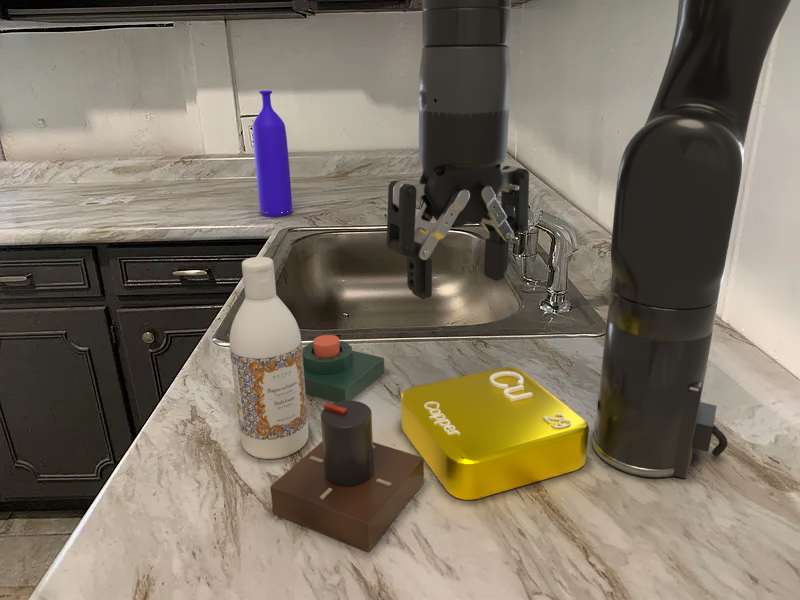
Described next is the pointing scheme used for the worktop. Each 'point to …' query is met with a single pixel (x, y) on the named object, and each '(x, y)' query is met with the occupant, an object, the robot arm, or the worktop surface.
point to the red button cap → (326, 346)
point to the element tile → (492, 432)
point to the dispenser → (340, 373)
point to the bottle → (271, 161)
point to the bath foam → (267, 367)
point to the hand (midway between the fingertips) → (459, 286)
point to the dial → (347, 442)
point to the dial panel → (349, 496)
